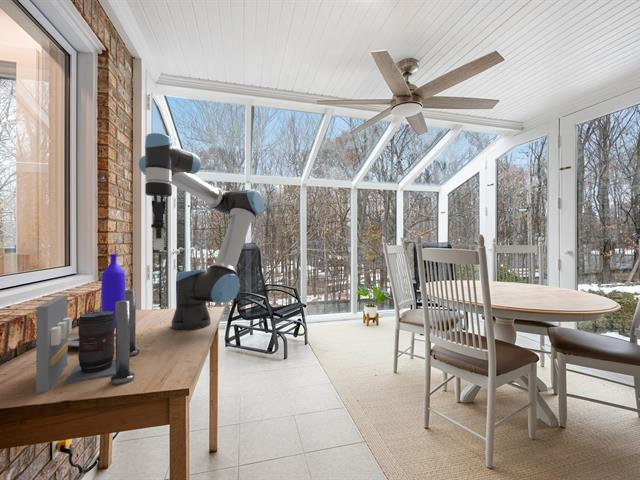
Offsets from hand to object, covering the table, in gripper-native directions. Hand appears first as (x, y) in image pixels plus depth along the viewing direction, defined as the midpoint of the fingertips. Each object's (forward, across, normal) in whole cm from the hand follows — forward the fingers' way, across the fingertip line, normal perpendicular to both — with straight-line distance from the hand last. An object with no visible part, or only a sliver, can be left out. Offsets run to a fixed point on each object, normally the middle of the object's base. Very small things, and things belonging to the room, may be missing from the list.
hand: (158, 249), depth 97 cm
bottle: (+33, -42, -17) cm, 56 cm away
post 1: (+33, +19, -8) cm, 39 cm away
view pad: (+33, +9, -15) cm, 37 cm away
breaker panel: (+33, +9, -24) cm, 42 cm away
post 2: (+33, -1, -8) cm, 34 cm away
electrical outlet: (+33, -15, -18) cm, 40 cm away
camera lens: (+32, +8, -15) cm, 37 cm away
